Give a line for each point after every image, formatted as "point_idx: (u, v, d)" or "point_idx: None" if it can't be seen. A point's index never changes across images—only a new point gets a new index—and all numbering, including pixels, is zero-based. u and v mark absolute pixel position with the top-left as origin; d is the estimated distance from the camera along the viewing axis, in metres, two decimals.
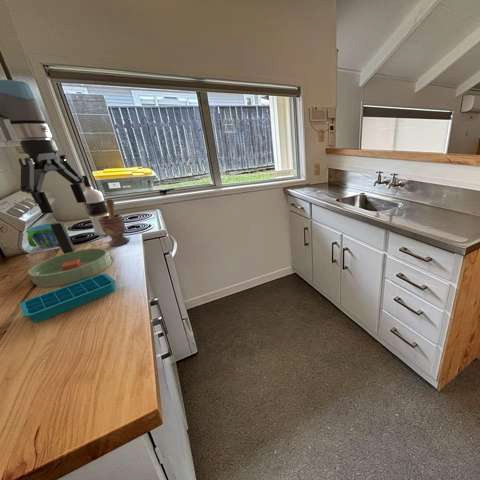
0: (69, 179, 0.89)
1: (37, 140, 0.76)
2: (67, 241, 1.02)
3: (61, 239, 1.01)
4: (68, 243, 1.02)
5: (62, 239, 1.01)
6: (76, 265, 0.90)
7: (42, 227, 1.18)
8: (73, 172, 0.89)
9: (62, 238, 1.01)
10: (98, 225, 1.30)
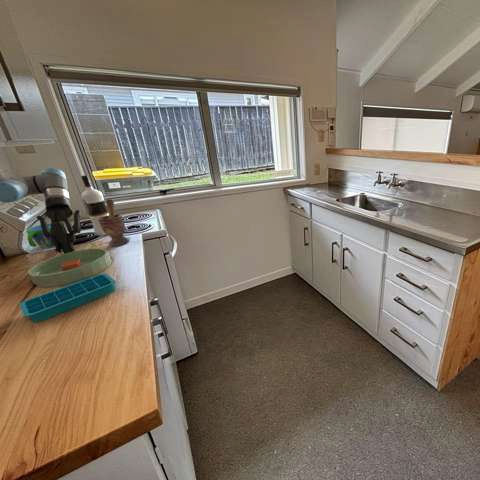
0: None
1: None
2: (67, 241, 1.02)
3: (61, 239, 1.01)
4: None
5: (62, 239, 1.01)
6: (76, 265, 0.90)
7: None
8: (48, 229, 1.02)
9: (62, 238, 1.01)
10: (98, 225, 1.30)
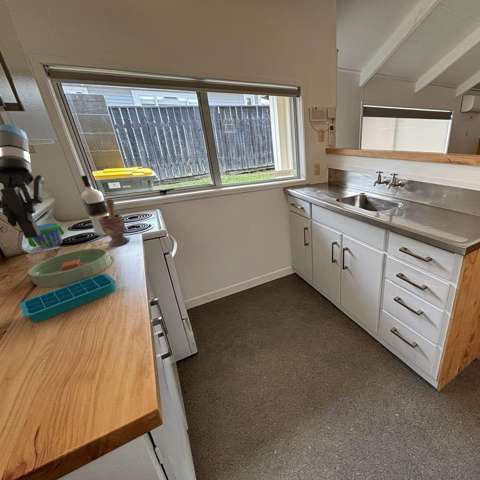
0: None
1: None
2: None
3: (15, 208, 0.80)
4: None
5: (17, 209, 0.80)
6: (76, 265, 0.90)
7: (42, 227, 1.18)
8: None
9: (17, 208, 0.80)
10: (98, 225, 1.30)
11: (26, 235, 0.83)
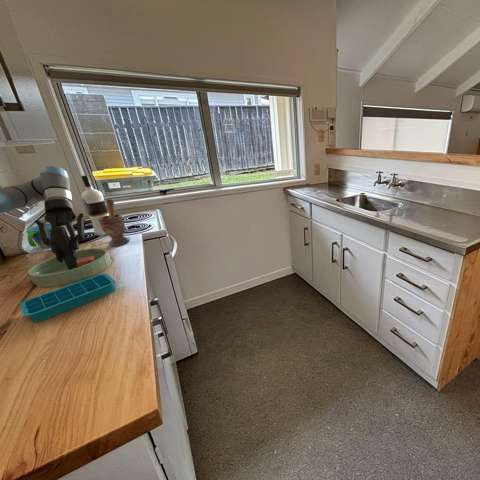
0: None
1: None
2: (69, 249, 0.90)
3: (62, 246, 0.88)
4: None
5: (64, 247, 0.89)
6: (91, 261, 0.93)
7: None
8: (47, 235, 0.90)
9: (63, 246, 0.89)
10: (98, 225, 1.30)
11: None
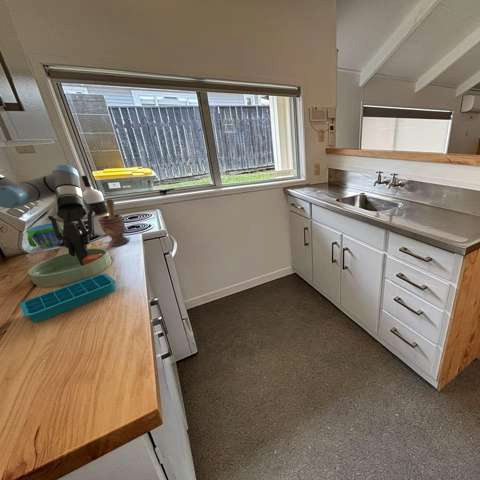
0: None
1: None
2: None
3: (74, 241, 0.93)
4: None
5: (75, 241, 0.93)
6: None
7: (42, 227, 1.18)
8: (60, 230, 0.95)
9: (75, 240, 0.93)
10: (98, 225, 1.30)
11: (81, 263, 0.96)
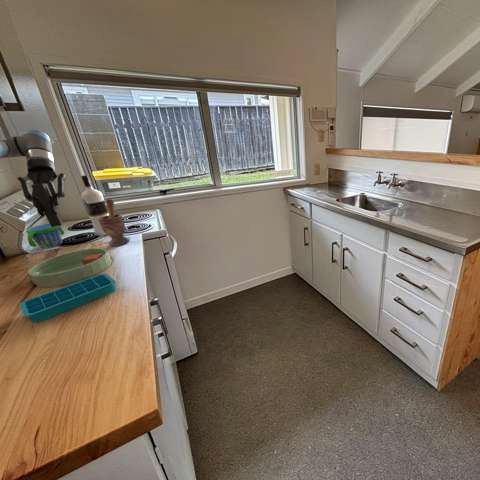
0: None
1: None
2: None
3: (43, 201, 0.95)
4: None
5: (44, 202, 0.95)
6: (95, 259, 0.94)
7: (42, 227, 1.18)
8: (29, 191, 0.97)
9: (44, 201, 0.95)
10: (98, 225, 1.30)
11: (51, 224, 0.98)
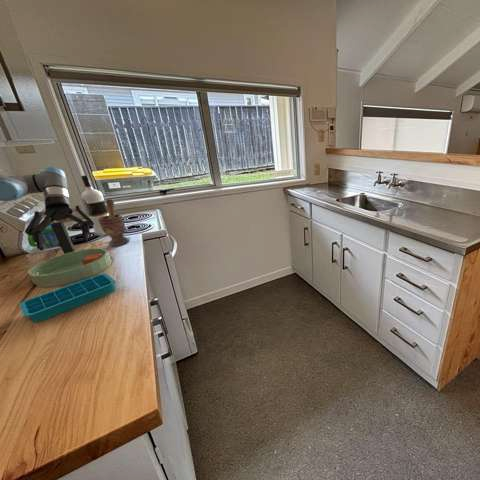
0: (40, 229, 1.00)
1: None
2: (67, 241, 1.02)
3: (61, 239, 1.01)
4: (68, 243, 1.02)
5: (62, 239, 1.01)
6: (95, 259, 0.94)
7: None
8: (35, 226, 1.01)
9: (62, 238, 1.01)
10: (98, 225, 1.30)
11: None
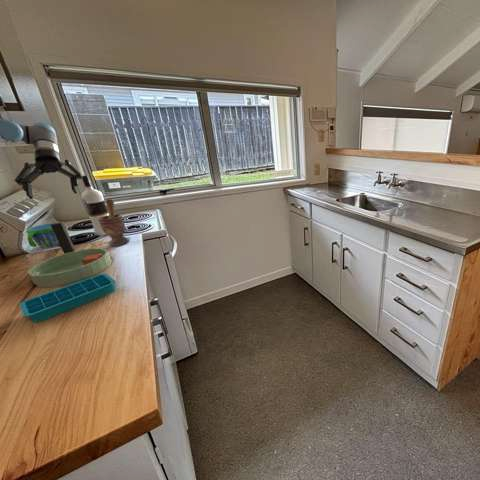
0: (30, 179, 1.04)
1: None
2: (67, 241, 1.02)
3: (61, 239, 1.01)
4: (68, 243, 1.02)
5: (62, 239, 1.01)
6: (95, 259, 0.94)
7: (42, 227, 1.18)
8: None
9: (62, 238, 1.01)
10: (98, 225, 1.30)
11: None
